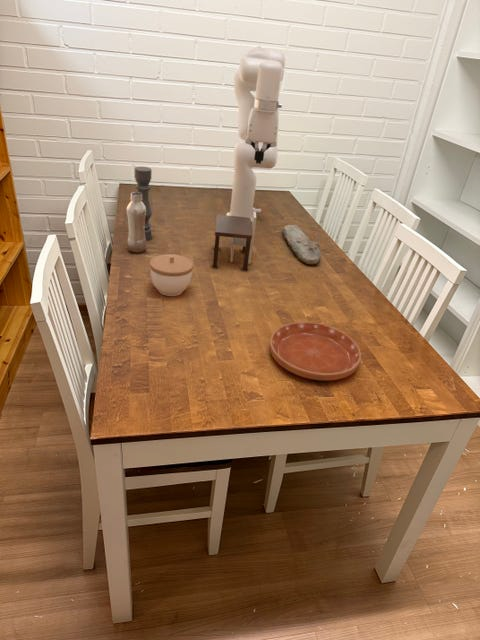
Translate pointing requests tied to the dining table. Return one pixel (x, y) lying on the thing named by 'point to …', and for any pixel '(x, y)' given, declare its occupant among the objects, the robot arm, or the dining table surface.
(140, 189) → the candle holder
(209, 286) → the dining table surface
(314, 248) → the long grey stone
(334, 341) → the saucer
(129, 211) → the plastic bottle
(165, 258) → the lidded bowl
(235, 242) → the chair
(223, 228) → the toy table
